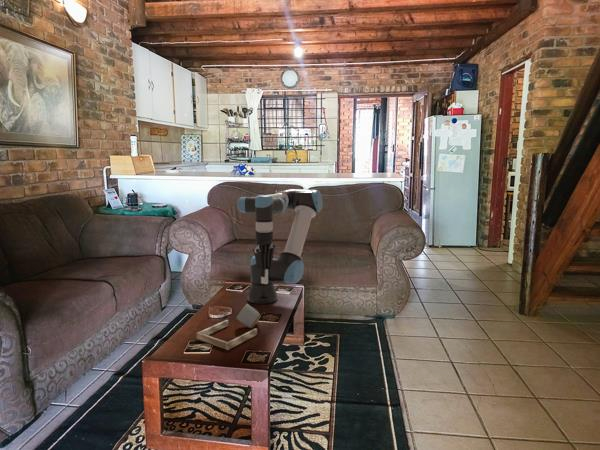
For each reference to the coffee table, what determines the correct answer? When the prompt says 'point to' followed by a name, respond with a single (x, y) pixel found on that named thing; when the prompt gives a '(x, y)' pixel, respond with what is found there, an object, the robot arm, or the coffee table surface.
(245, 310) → the tilted grey cube
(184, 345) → the coffee table surface
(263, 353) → the coffee table surface
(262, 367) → the coffee table surface
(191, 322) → the coffee table surface
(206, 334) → the u-shaped bracket
